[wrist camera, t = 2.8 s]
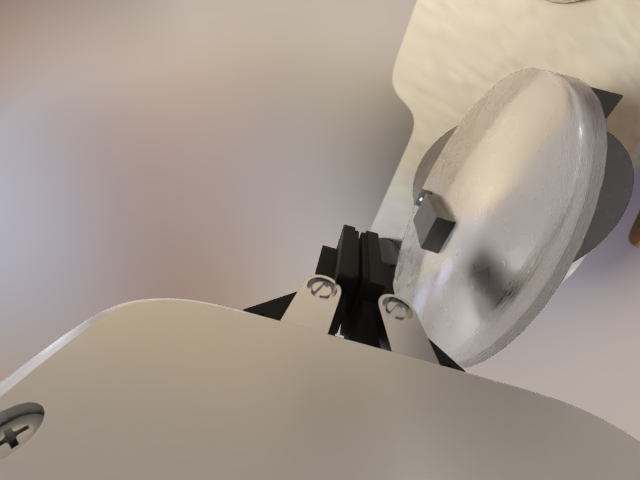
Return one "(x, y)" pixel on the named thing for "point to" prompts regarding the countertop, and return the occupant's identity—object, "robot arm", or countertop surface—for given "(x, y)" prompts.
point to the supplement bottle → (389, 254)
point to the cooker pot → (612, 189)
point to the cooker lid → (503, 212)
